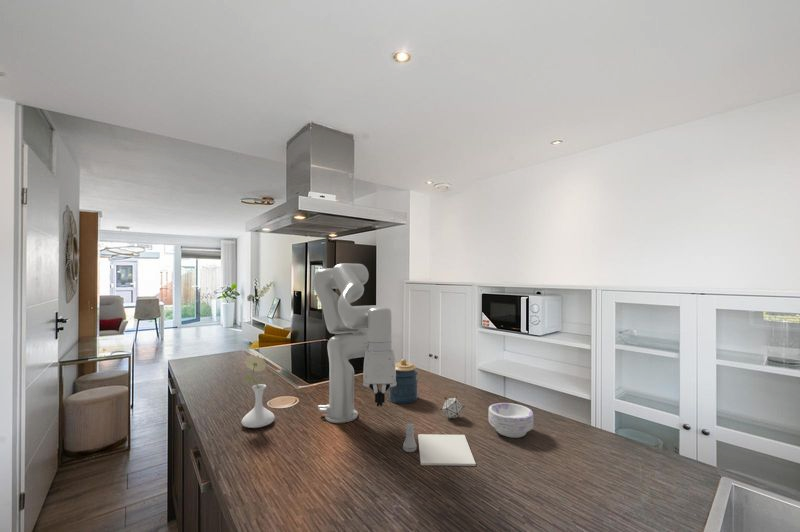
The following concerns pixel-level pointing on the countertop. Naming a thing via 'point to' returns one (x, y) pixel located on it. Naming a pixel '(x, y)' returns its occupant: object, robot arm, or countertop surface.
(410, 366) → the canister
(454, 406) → the game die
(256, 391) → the flower in vase
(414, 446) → the rook chess piece
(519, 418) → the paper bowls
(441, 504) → the countertop surface
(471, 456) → the mat
